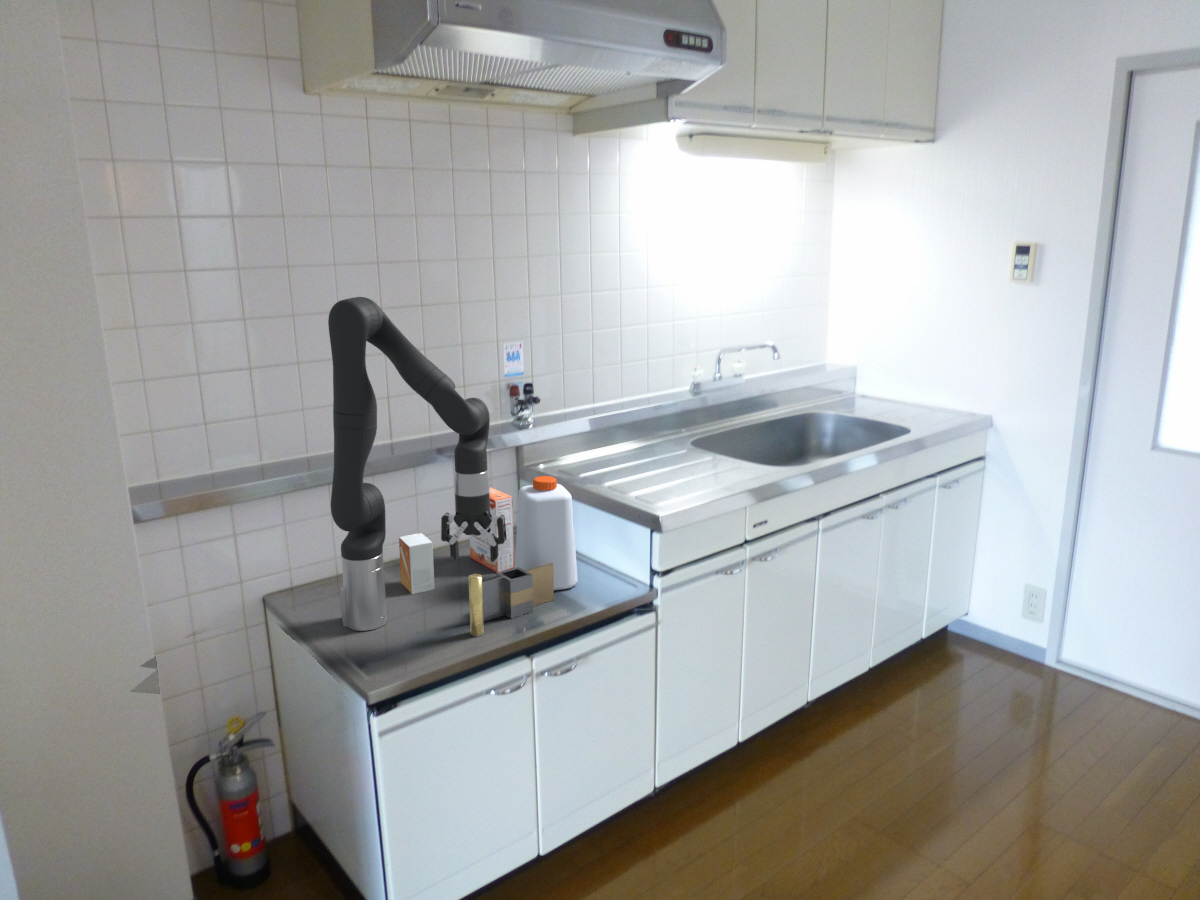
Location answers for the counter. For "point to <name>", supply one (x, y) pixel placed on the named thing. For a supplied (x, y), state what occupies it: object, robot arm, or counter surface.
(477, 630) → the hinge pin
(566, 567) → the plastic bottle
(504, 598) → the hinge
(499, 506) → the cracker box
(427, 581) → the small box
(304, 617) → the counter surface
